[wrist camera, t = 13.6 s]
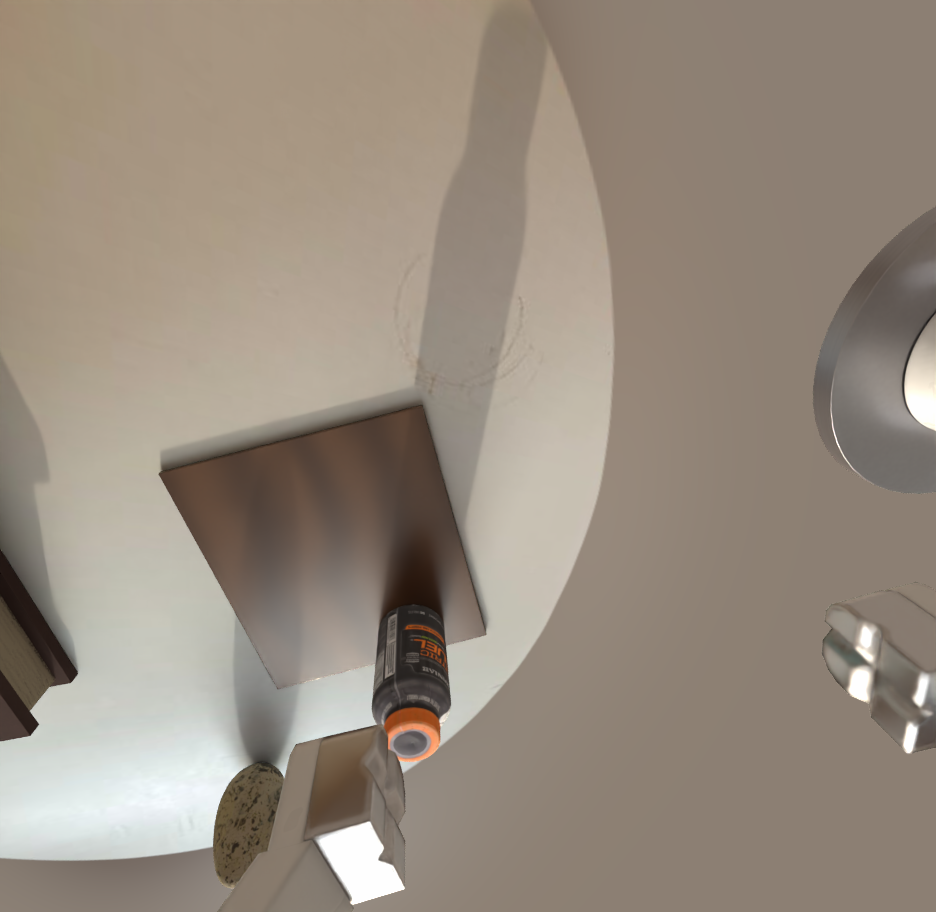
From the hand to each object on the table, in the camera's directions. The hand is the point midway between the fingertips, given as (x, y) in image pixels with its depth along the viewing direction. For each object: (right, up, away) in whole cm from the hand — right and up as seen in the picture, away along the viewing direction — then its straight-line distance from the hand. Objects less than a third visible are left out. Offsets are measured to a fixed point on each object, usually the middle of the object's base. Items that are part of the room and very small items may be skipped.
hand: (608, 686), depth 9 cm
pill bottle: (-8, -11, +36) cm, 38 cm away
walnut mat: (-13, -5, +32) cm, 35 cm away
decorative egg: (-23, -28, +41) cm, 55 cm away
